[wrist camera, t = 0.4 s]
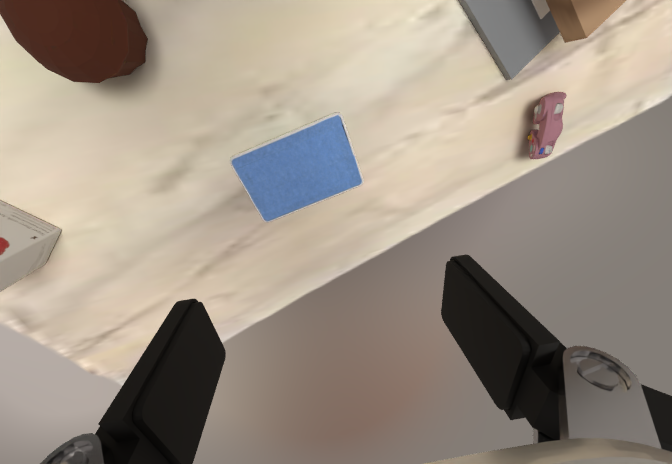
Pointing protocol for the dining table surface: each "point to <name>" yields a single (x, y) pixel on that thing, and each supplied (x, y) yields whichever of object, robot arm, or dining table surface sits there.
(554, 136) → the video game controller
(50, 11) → the muffin
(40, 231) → the supplement box
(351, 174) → the tablet computer
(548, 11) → the label panel
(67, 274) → the dining table surface
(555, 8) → the swing bar
